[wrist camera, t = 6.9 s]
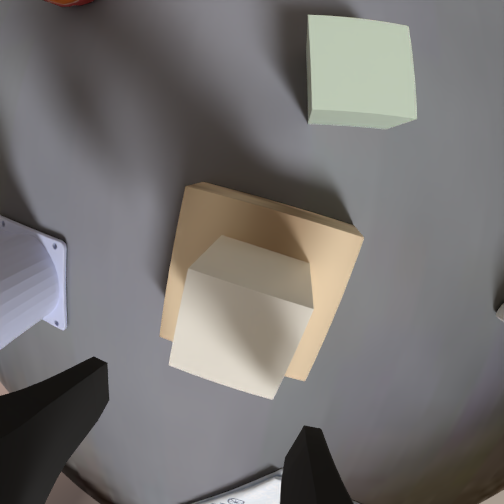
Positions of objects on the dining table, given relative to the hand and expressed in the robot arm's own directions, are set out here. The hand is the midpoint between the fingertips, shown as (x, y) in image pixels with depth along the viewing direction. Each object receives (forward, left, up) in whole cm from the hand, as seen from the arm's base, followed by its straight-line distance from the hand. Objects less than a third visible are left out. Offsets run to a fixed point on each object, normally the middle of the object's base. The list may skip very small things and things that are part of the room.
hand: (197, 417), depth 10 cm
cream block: (0, +2, -7) cm, 8 cm away
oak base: (0, +2, -10) cm, 10 cm away
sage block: (+2, +14, -11) cm, 17 cm away
